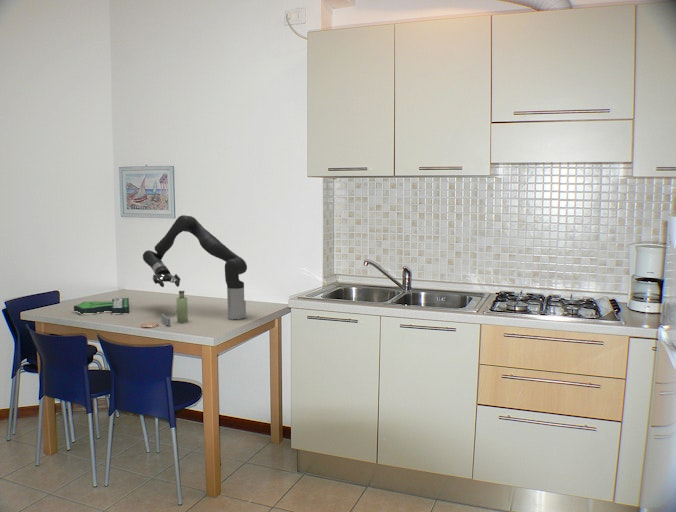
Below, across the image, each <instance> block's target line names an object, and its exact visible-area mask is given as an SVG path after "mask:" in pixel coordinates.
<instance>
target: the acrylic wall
mask: <svg viewBox="0 0 676 512" xmlns="http://www.w3.org/2000/svg"><path fill="white" fill-rule="evenodd" d="M160 318H161V321H160V322H162V321H163V322H164V323H165V324H167V325H168V326H170V327H171V318H169V317H168V316H166V315H165V314H164V313H161V314H160ZM163 322H162V323H163ZM164 323H163V324H164ZM165 324H164V325H165ZM167 325H166V326H167ZM168 326H167V327H168Z"/></svg>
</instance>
